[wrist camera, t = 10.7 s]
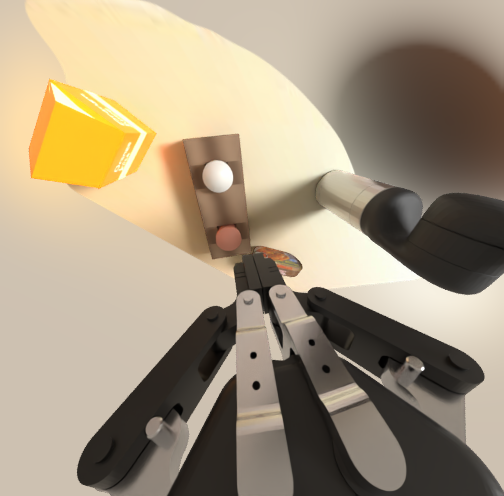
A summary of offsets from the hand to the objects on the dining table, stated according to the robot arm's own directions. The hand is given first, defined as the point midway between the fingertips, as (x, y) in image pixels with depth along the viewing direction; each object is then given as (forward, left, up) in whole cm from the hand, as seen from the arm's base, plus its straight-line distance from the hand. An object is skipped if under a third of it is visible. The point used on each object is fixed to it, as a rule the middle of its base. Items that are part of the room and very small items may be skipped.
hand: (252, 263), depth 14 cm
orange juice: (+18, -9, -33) cm, 39 cm away
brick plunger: (+2, +11, -31) cm, 33 cm away
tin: (-10, +23, -33) cm, 42 cm away
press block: (+2, +5, -33) cm, 33 cm away
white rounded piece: (+2, -1, -32) cm, 32 cm away
